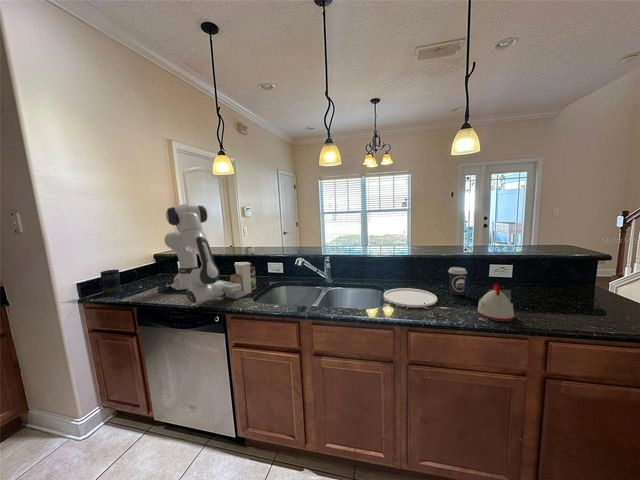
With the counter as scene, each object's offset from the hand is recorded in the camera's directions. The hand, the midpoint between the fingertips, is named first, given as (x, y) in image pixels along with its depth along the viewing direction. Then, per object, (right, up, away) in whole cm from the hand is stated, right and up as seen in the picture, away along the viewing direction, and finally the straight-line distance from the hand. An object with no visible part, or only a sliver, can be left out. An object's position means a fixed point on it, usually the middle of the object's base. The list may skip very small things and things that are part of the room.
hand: (236, 283), depth 161 cm
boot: (+1, -8, +2) cm, 8 cm away
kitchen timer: (+131, -9, -40) cm, 137 cm away
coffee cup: (+130, -5, -9) cm, 130 cm away
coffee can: (+3, -6, +16) cm, 17 cm away
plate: (+100, -7, -15) cm, 102 cm away
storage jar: (-87, -9, +15) cm, 89 cm away
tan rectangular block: (0, -7, 0) cm, 7 cm away
